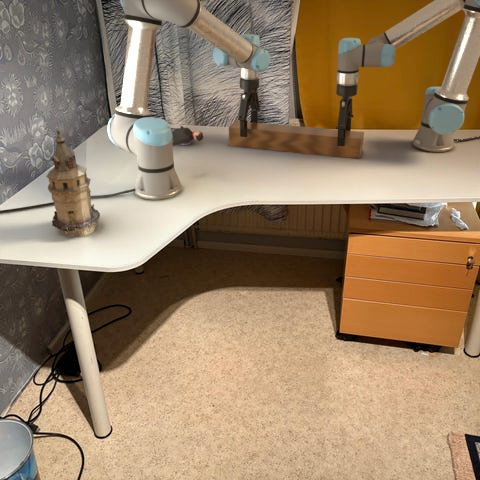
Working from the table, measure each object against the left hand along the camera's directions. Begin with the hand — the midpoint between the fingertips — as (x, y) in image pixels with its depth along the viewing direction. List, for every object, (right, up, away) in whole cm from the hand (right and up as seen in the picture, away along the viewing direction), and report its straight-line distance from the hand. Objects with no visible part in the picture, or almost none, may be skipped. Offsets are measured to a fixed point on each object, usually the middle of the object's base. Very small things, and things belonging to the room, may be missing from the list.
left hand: (248, 131), depth 215 cm
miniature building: (-51, -40, -59) cm, 88 cm away
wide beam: (+18, -7, -3) cm, 20 cm away
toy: (-33, -4, +5) cm, 34 cm away
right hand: (+36, -5, -10) cm, 38 cm away
